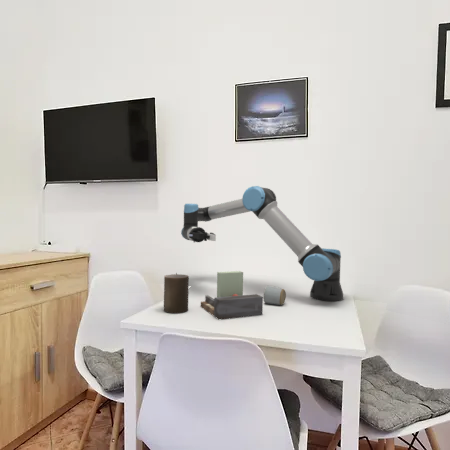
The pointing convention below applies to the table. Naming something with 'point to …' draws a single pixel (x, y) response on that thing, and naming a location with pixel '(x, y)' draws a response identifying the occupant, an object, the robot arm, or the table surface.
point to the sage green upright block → (229, 283)
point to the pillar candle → (176, 293)
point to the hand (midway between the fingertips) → (214, 237)
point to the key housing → (234, 306)
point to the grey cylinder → (274, 295)
